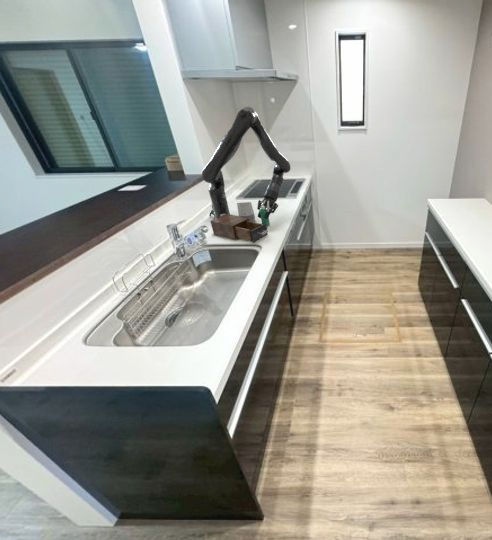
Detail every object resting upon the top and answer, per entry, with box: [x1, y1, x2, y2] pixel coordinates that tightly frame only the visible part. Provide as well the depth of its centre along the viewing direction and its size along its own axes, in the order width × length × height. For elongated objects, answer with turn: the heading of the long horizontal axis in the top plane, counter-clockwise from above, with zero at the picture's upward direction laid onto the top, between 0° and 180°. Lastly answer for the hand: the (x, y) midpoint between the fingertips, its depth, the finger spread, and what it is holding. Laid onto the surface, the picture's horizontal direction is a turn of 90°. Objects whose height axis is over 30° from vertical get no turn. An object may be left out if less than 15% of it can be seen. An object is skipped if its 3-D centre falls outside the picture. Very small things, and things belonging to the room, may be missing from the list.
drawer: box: [234, 221, 269, 244], centre depth 165 cm, size 20×11×7 cm, turn 61°
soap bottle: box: [260, 206, 271, 228], centre depth 173 cm, size 4×4×12 cm
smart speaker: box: [236, 201, 256, 222], centre depth 185 cm, size 10×9×14 cm
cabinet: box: [210, 213, 249, 241], centre depth 171 cm, size 18×13×9 cm
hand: (262, 218), depth 172 cm, fingers closed on soap bottle, 4 cm apart
